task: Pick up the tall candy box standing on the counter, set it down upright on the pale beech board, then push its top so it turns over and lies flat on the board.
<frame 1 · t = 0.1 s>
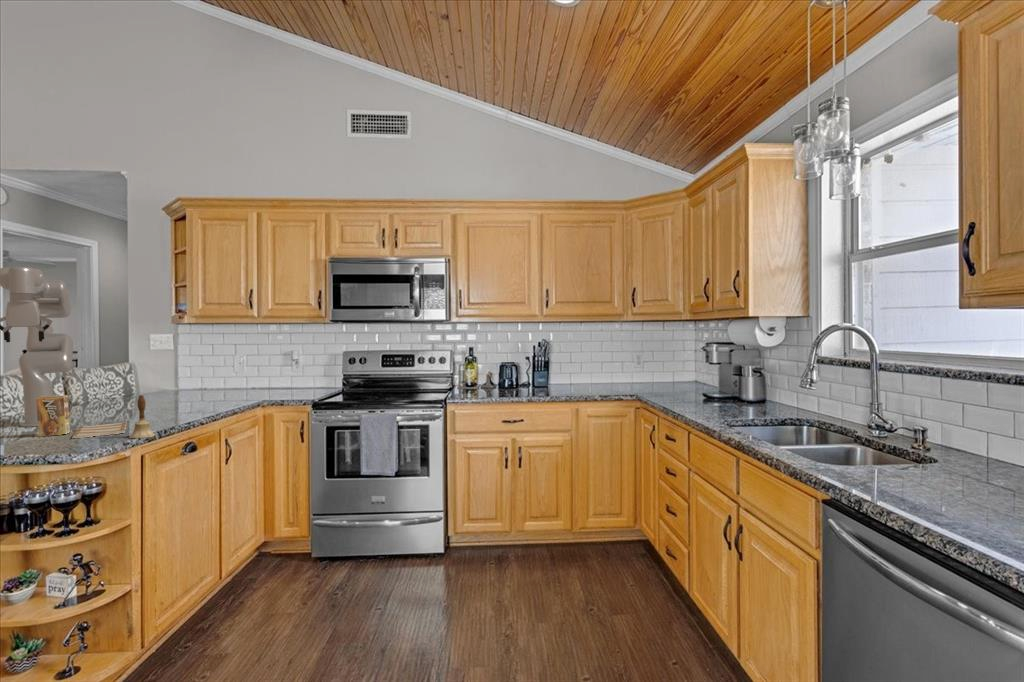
hand: (24, 341, 215), 37 cm above the countertop, tool pointing down, fingers open, 9 cm apart
hand bell: (142, 437, 209), on the countertop
candy box: (54, 435, 213), on the countertop
board: (101, 431, 219), on the countertop
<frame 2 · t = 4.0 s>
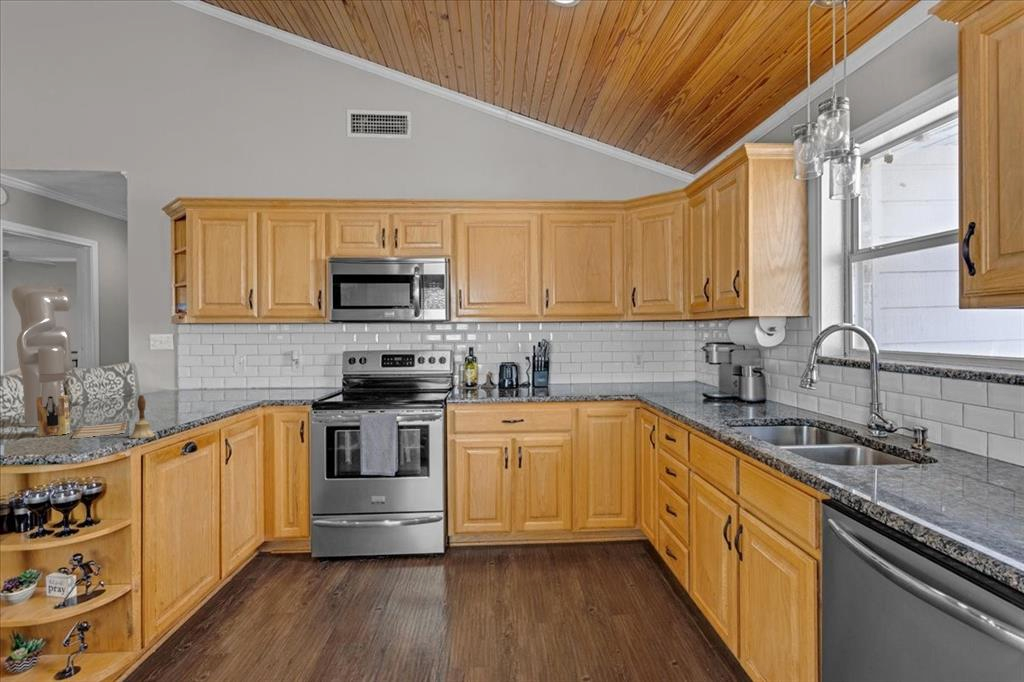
hand: (53, 424, 213), 4 cm above the countertop, tool pointing down, fingers closed on candy box, 5 cm apart
candy box: (54, 435, 213), on the countertop, touching gripper
everything else where it was.
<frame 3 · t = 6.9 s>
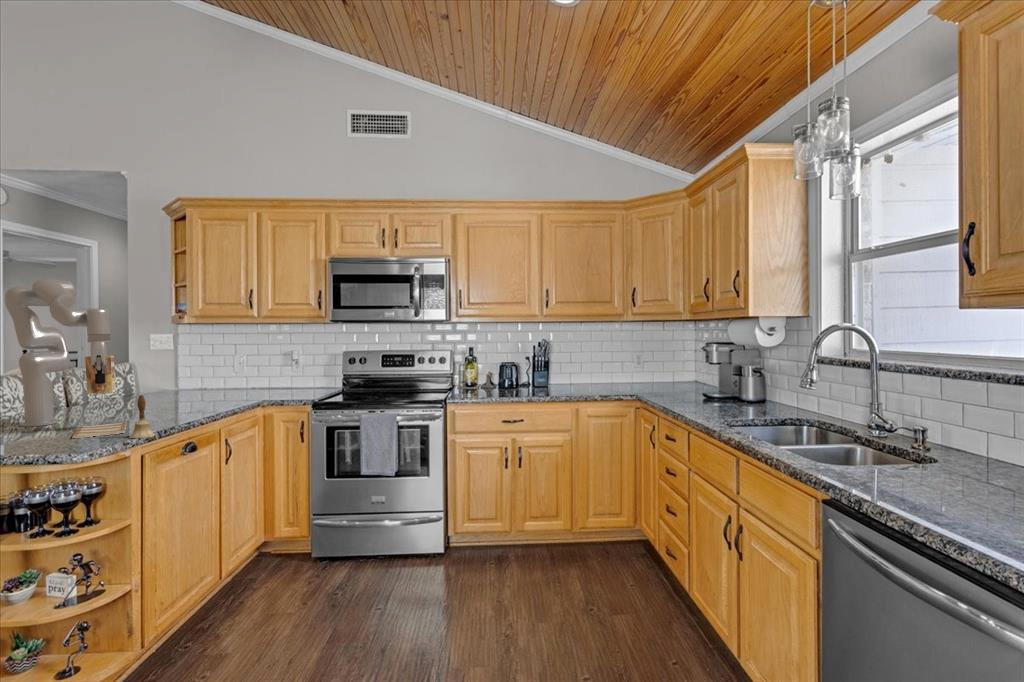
hand: (100, 382, 224), 19 cm above the countertop, tool pointing down, fingers closed on candy box, 4 cm apart
candy box: (101, 393, 224), point 15 cm above the countertop, touching gripper
everything else where it was.
when the fingers open (7 cm above the countertop, at t = 9.8 s): candy box drops 1 cm, resting on board.
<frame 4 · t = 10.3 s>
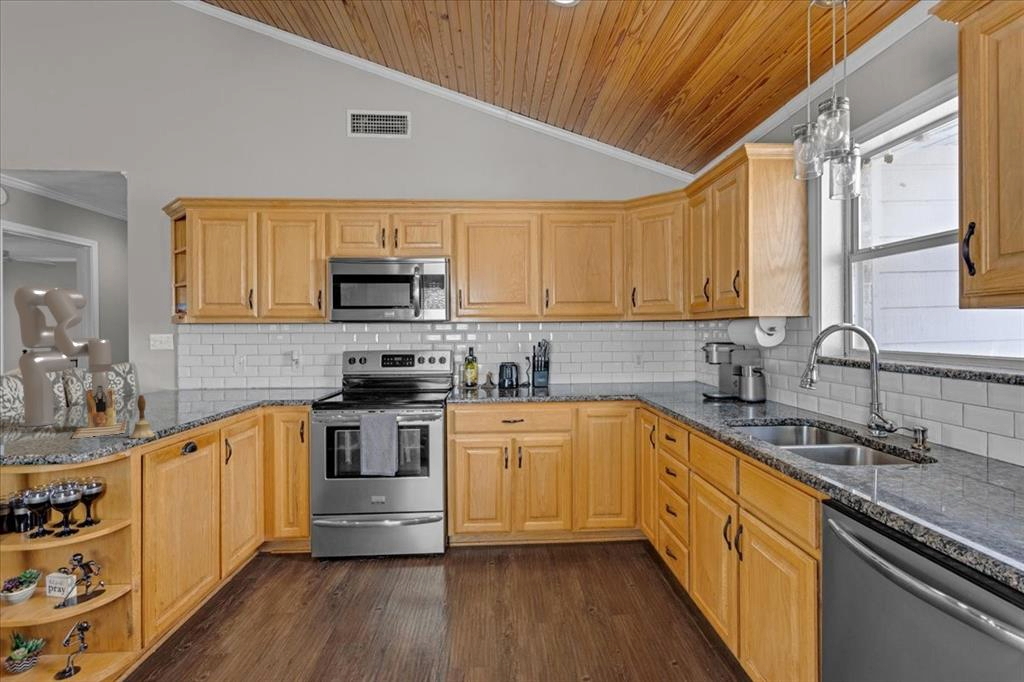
hand: (102, 410, 224), 8 cm above the countertop, tool pointing down, fingers open, 9 cm apart
candy box: (102, 426, 224), point 1 cm above the countertop, touching board
everything else where it was.
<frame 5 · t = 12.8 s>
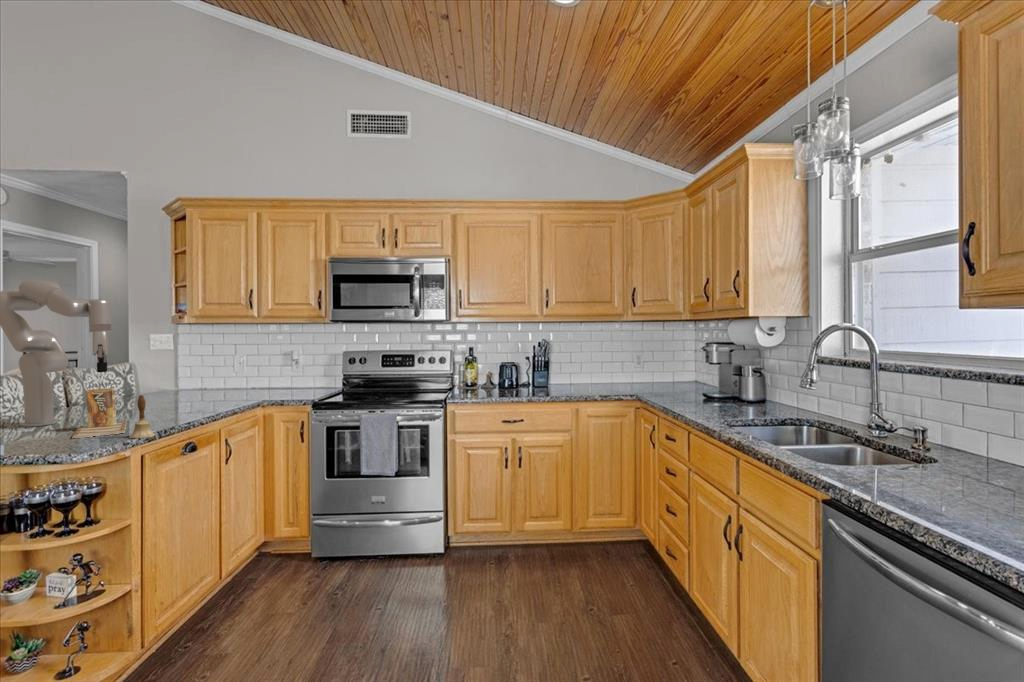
hand: (102, 371, 231), 23 cm above the countertop, tool pointing down, fingers open, 3 cm apart
nothing on the countertop moved.
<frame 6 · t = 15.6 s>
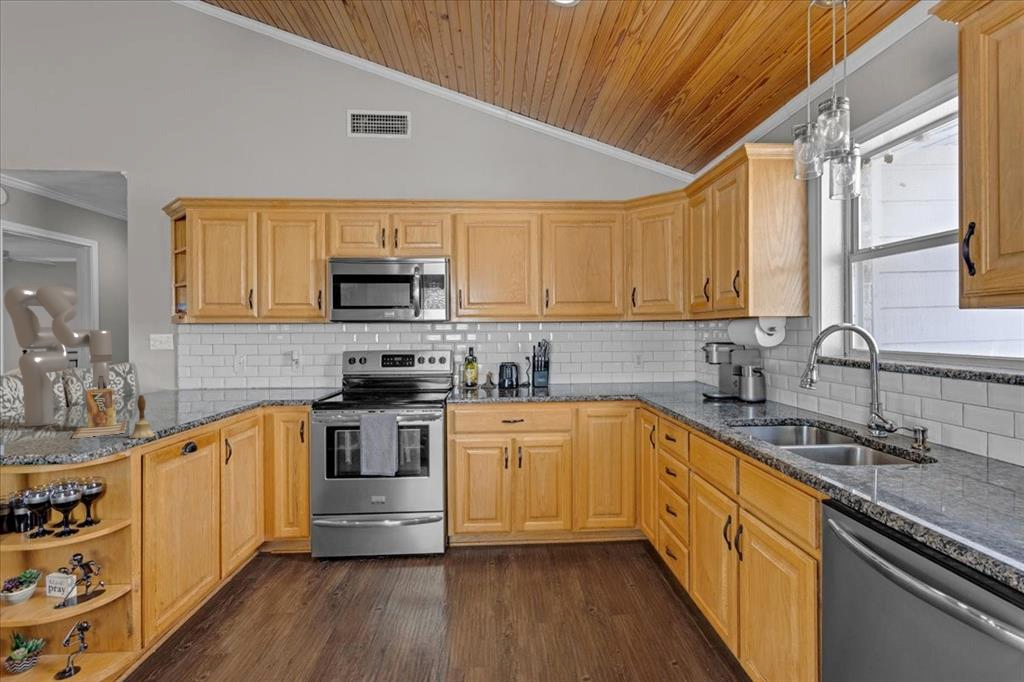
hand: (103, 402, 228), 10 cm above the countertop, tool pointing down, fingers closed
nothing on the countertop moved.
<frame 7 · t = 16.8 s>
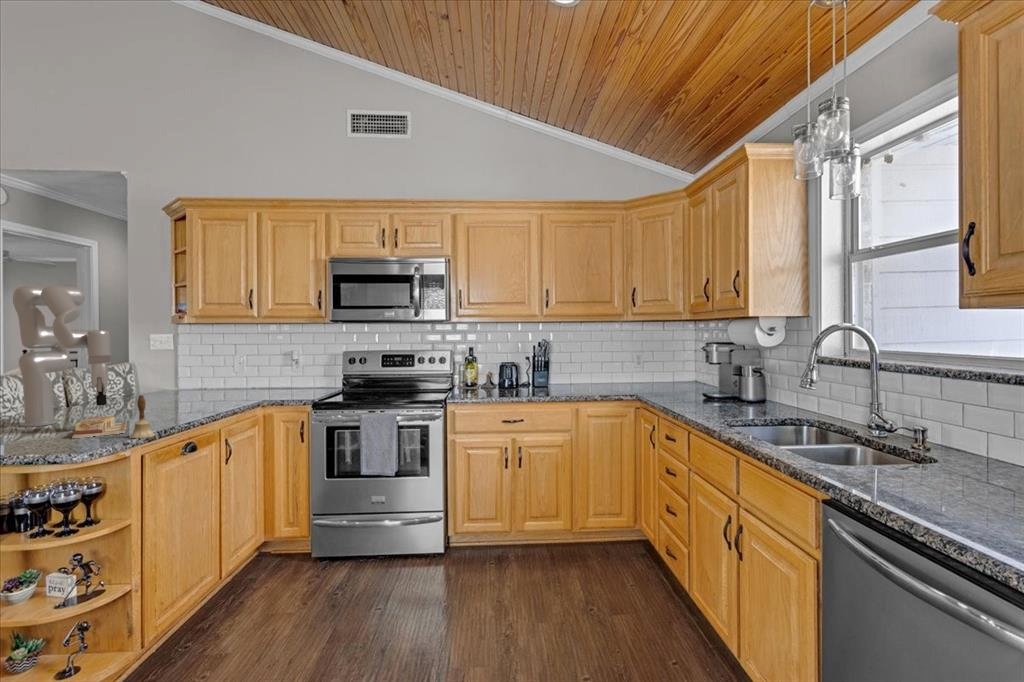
hand: (101, 404, 222), 10 cm above the countertop, tool pointing down, fingers closed
candy box: (102, 421, 223), point 3 cm above the countertop, touching board
everything else where it was.
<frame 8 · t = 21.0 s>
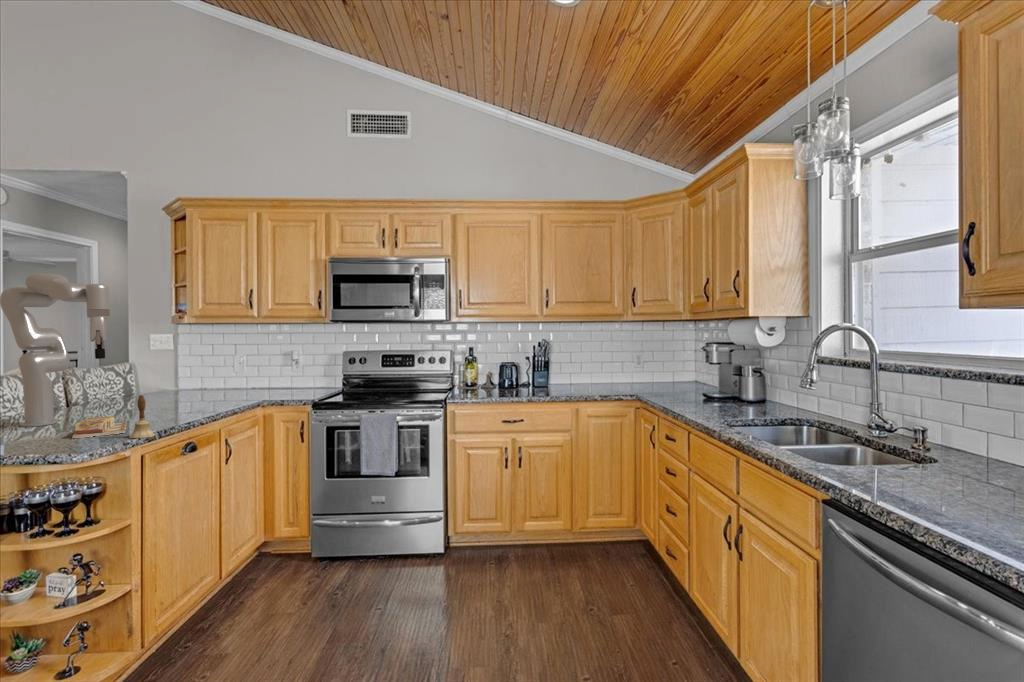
hand: (100, 358, 225), 29 cm above the countertop, tool pointing down, fingers closed
nothing on the countertop moved.
at the end: candy box tilted 89°; candy box inside the target area on the board (5.8 cm from its centre), point 3.2 cm above the board's base; the gripper is holding nothing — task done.
